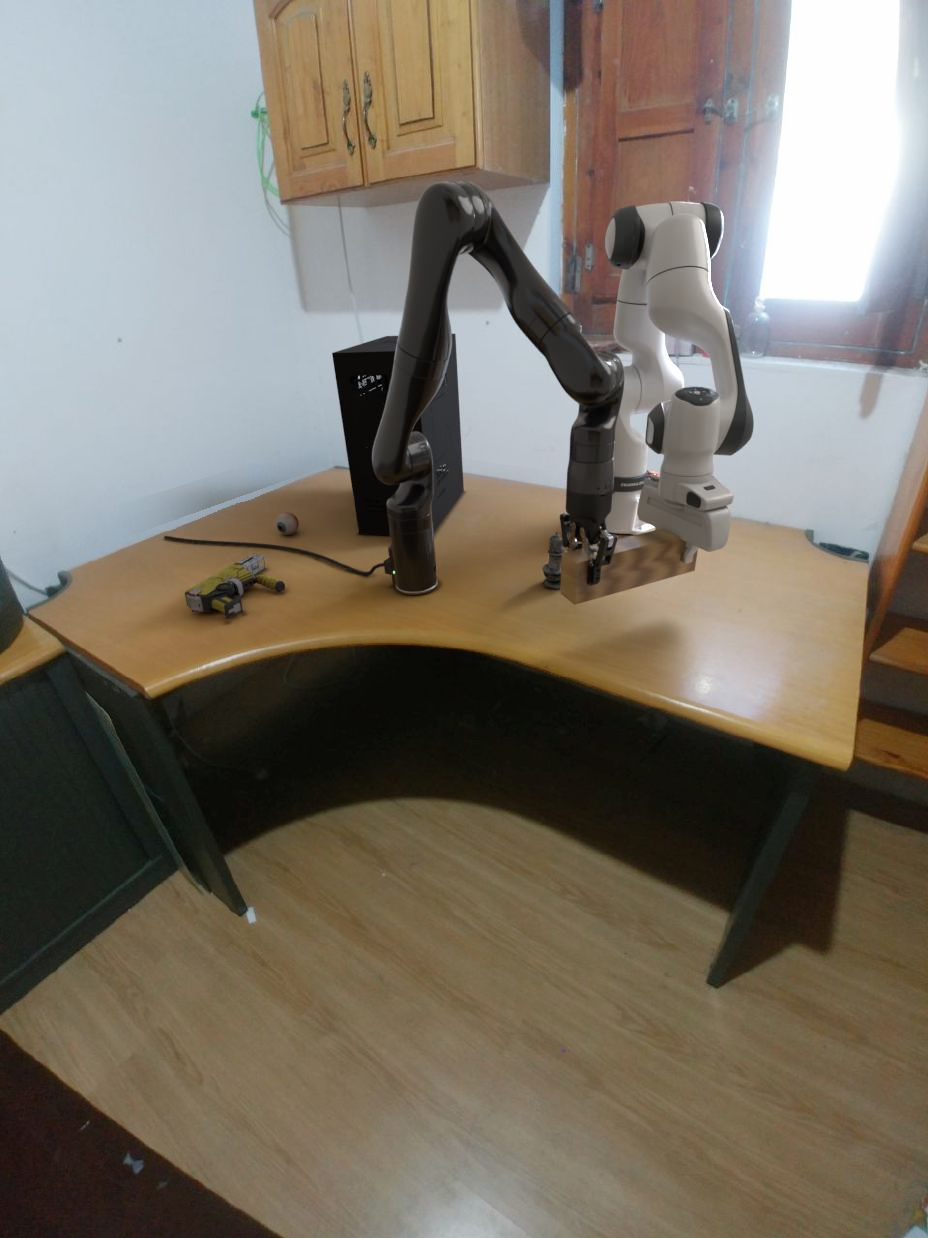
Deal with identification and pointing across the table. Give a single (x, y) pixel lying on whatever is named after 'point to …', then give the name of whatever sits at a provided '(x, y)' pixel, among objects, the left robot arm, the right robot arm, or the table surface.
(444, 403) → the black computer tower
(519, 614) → the table surface
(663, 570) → the bar
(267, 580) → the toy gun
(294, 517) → the eyeball
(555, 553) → the weathered chess pawn
